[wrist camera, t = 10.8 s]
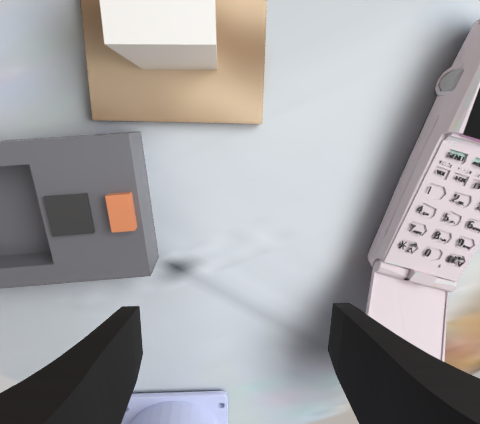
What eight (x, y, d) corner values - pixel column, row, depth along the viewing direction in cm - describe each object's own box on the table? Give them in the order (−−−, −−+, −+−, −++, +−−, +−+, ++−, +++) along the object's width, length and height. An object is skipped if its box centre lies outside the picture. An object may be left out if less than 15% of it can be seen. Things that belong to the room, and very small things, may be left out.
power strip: (142, 131, 19) (125, 134, 16) (159, 254, 21) (148, 280, 18) (-138, 149, 18) (-220, 156, 15) (-90, 274, 21) (-151, 305, 17)
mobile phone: (347, 416, 18) (601, -90, 12) (316, 345, 24) (478, -24, 18) (438, 433, 19) (718, -29, 13) (387, 361, 25) (565, 15, 19)
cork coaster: (260, 123, 19) (262, 123, 18) (96, 120, 18) (92, 120, 18) (268, -70, 16) (269, -76, 16) (76, -81, 16) (71, -88, 15)
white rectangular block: (217, 69, 17) (215, 44, 12) (142, 69, 17) (104, 44, 12) (214, -16, 16) (212, -89, 11) (135, -17, 16) (88, -92, 10)
